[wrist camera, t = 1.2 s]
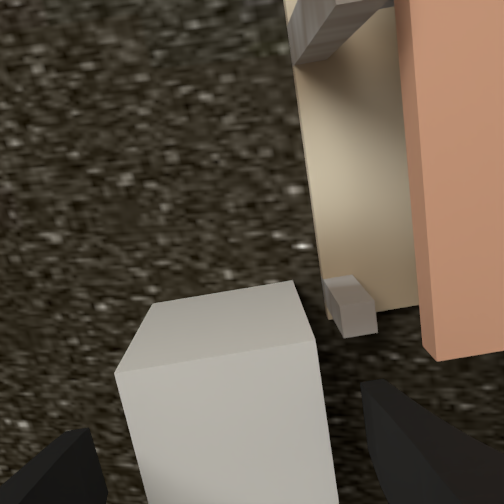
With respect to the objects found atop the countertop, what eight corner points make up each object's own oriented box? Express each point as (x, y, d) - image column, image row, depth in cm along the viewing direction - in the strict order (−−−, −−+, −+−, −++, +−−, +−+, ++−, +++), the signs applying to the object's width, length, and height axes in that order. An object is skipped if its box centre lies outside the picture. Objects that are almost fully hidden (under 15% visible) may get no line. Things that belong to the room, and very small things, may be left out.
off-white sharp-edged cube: (311, 404, 17) (339, 508, 12) (181, 425, 17) (157, 538, 12) (292, 279, 16) (315, 339, 11) (152, 303, 16) (114, 373, 11)
